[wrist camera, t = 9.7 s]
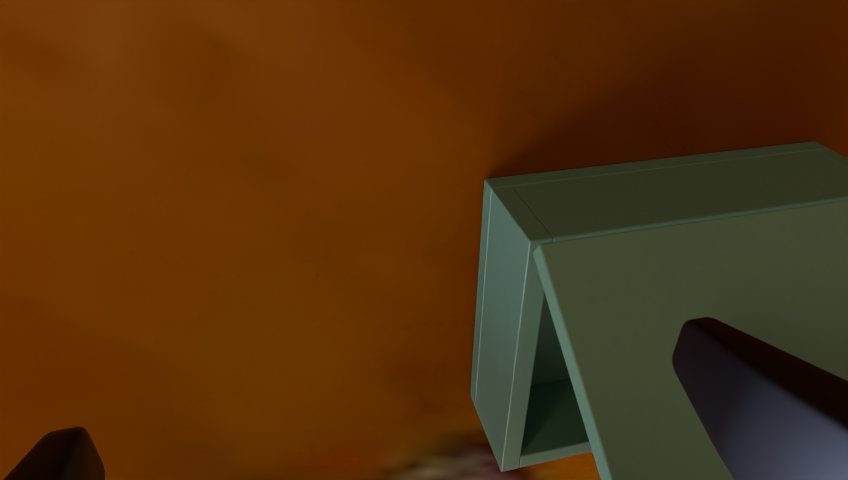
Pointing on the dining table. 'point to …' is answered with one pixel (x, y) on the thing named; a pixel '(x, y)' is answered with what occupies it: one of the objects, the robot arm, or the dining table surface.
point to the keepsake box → (591, 216)
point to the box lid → (679, 302)
